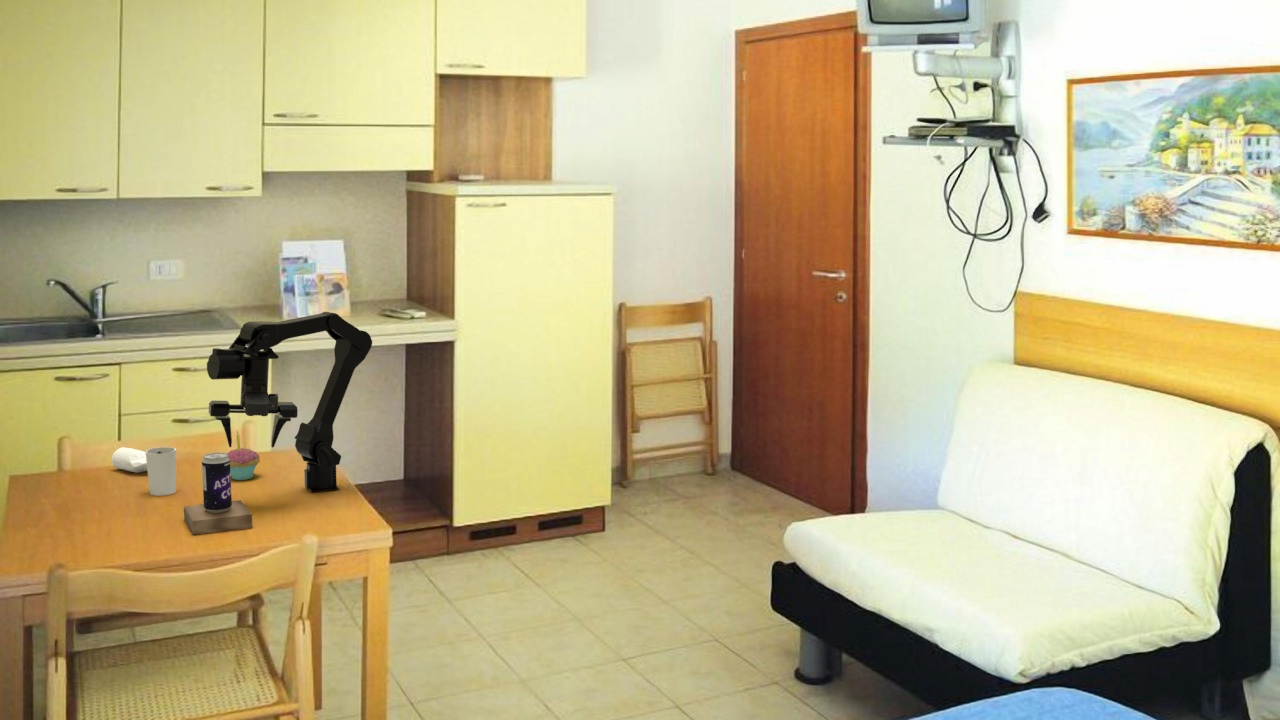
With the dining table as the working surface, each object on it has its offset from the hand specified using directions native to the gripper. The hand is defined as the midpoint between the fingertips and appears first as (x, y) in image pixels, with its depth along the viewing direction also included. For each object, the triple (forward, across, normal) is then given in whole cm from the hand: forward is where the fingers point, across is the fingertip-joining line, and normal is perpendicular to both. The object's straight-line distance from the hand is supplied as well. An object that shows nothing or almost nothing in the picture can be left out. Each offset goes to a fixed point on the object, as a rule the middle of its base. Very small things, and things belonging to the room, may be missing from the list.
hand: (251, 447), depth 298 cm
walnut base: (+14, -8, -14) cm, 22 cm away
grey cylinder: (+14, -17, +16) cm, 28 cm away
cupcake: (+12, +1, +24) cm, 27 cm away
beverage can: (+11, -8, -14) cm, 20 cm away
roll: (+14, -22, +38) cm, 46 cm away
